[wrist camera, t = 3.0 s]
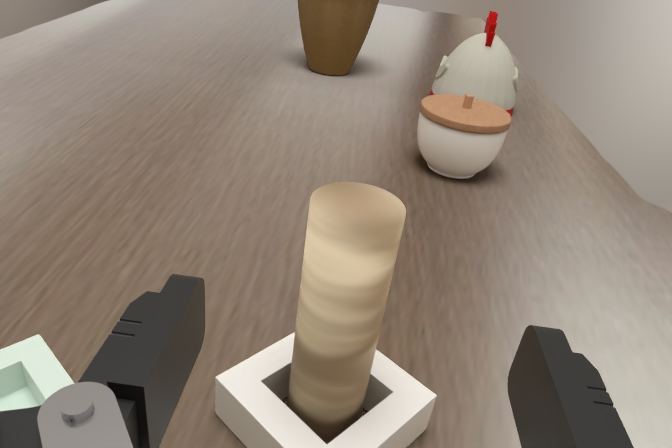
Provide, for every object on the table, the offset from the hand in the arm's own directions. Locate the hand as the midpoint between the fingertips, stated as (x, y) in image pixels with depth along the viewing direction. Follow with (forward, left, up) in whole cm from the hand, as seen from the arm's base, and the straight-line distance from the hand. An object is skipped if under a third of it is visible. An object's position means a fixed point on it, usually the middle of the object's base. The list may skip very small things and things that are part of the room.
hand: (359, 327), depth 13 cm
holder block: (+9, +7, -18) cm, 21 cm away
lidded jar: (+48, +24, -18) cm, 56 cm away
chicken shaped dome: (+73, +37, -18) cm, 84 cm away
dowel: (+9, +7, -18) cm, 21 cm away
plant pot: (+64, +62, -18) cm, 91 cm away
